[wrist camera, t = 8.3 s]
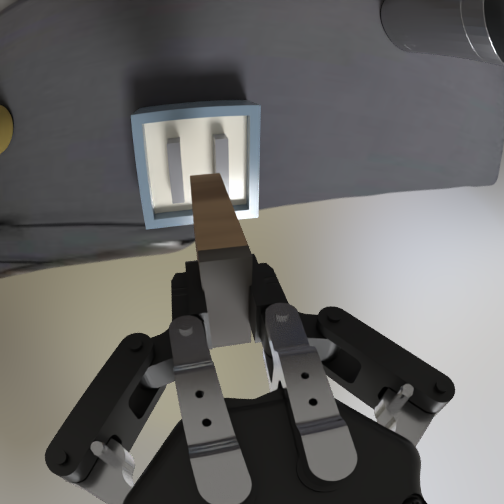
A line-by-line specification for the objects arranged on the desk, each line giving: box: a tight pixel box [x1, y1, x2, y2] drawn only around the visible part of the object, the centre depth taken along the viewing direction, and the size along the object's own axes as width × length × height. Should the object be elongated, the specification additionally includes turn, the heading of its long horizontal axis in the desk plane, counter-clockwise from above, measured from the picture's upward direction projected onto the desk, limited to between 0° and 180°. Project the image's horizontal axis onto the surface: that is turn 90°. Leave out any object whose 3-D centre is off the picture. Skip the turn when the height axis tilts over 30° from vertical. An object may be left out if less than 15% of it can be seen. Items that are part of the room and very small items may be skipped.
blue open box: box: [131, 100, 261, 229], centre depth 30 cm, size 12×12×8 cm
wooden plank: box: [190, 173, 253, 348], centre depth 17 cm, size 5×2×10 cm, turn 179°
